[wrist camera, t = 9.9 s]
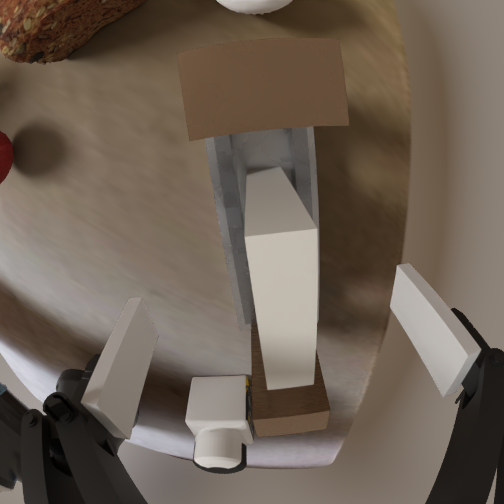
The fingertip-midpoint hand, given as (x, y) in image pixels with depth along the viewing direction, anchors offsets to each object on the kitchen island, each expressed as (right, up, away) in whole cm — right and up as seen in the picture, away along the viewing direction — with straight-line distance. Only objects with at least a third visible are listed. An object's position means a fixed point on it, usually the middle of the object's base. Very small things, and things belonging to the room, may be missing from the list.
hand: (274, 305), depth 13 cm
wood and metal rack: (0, +5, +9) cm, 11 cm away
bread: (-17, +28, -2) cm, 33 cm away
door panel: (0, +5, +9) cm, 10 cm away
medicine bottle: (-5, -16, +21) cm, 26 cm away
